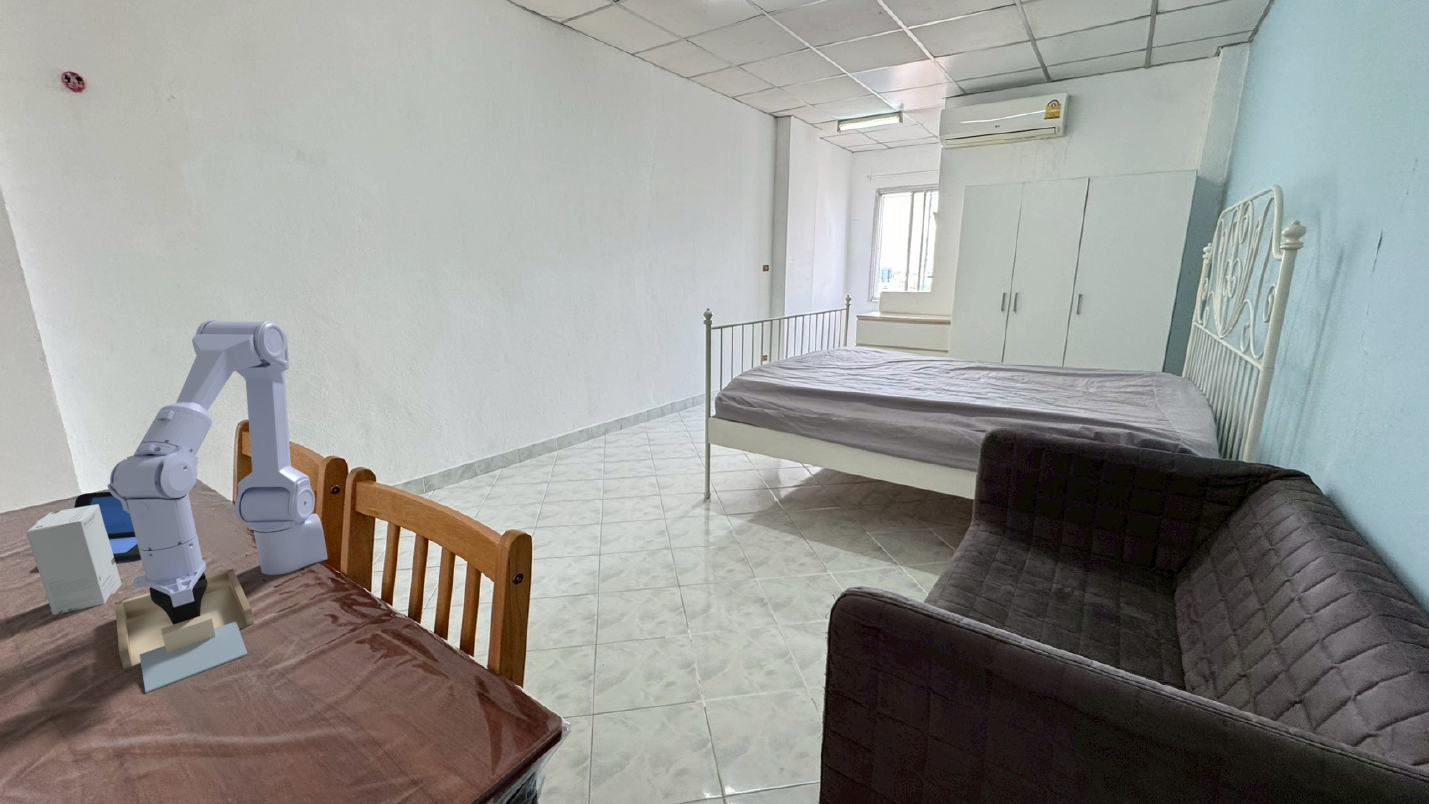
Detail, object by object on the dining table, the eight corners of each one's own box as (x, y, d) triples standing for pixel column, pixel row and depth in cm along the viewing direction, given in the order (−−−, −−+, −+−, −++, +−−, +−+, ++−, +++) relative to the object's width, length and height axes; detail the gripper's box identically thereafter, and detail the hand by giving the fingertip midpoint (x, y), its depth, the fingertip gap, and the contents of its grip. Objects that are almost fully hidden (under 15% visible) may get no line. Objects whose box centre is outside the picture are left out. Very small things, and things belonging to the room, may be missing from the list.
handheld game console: (34, 573, 98) (19, 524, 95) (88, 537, 110) (76, 493, 108) (148, 560, 102) (136, 513, 100) (188, 527, 115) (178, 485, 112)
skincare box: (107, 609, 88) (83, 521, 84) (50, 621, 85) (23, 531, 81) (123, 583, 95) (101, 501, 91) (70, 594, 91) (46, 509, 88)
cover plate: (237, 627, 83) (232, 604, 81) (248, 659, 78) (244, 635, 76) (141, 661, 75) (134, 636, 74) (147, 699, 71) (140, 672, 69)
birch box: (236, 587, 94) (233, 568, 93) (255, 628, 84) (251, 608, 83) (120, 623, 85) (114, 602, 84) (125, 675, 74) (119, 652, 73)
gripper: (123, 532, 77) (145, 618, 81) (128, 572, 68) (152, 668, 71) (192, 516, 83) (210, 598, 86) (206, 551, 73) (225, 642, 76)
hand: (188, 628), depth 79 cm, fingers closed
